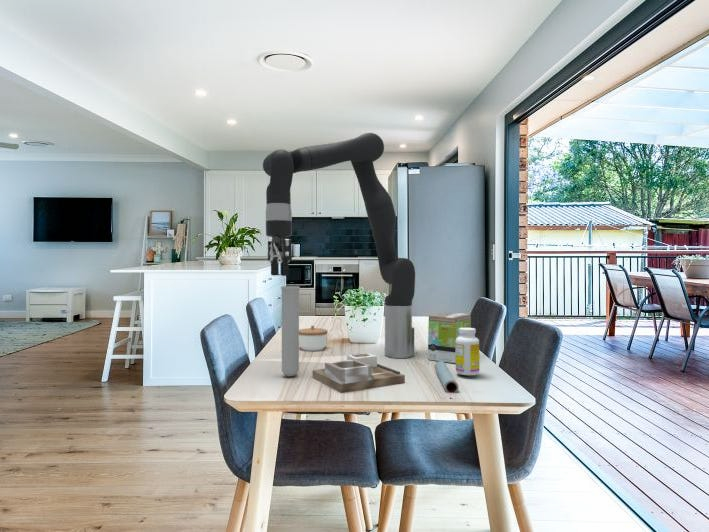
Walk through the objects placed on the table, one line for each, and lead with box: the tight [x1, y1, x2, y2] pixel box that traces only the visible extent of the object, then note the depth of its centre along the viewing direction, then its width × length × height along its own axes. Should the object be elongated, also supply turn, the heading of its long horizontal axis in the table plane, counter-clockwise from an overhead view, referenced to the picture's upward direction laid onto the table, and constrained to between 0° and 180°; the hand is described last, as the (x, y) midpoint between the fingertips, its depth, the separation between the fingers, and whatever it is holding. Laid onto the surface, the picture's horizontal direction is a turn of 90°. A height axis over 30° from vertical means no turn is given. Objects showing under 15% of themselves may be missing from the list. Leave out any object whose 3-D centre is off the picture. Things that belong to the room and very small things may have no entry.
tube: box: [280, 285, 301, 377], centre depth 124 cm, size 5×5×25 cm
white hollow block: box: [346, 353, 378, 367], centre depth 127 cm, size 7×5×3 cm
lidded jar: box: [299, 325, 328, 352], centre depth 160 cm, size 11×11×9 cm
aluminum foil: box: [434, 361, 459, 394], centre depth 120 cm, size 23×7×3 cm, turn 176°
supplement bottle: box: [455, 327, 480, 376], centre depth 128 cm, size 7×7×13 cm
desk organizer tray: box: [312, 359, 406, 393], centre depth 120 cm, size 19×17×6 cm
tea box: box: [427, 312, 472, 364], centre depth 150 cm, size 15×10×15 cm, turn 148°
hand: (279, 275), depth 130 cm, fingers open, 8 cm apart
